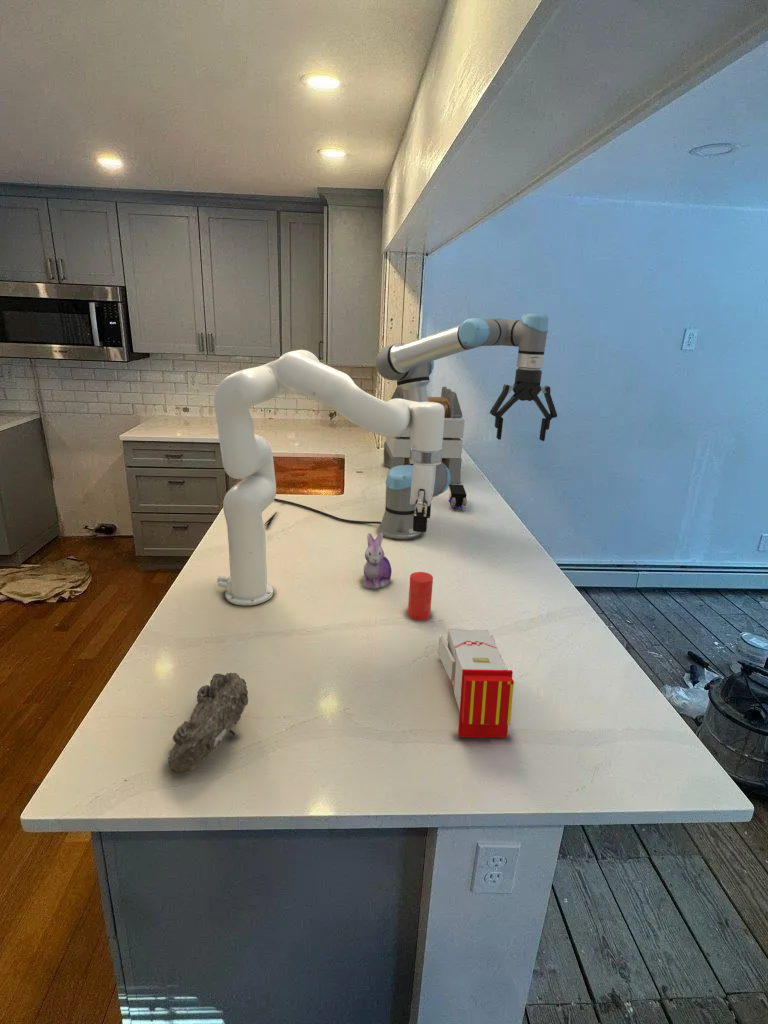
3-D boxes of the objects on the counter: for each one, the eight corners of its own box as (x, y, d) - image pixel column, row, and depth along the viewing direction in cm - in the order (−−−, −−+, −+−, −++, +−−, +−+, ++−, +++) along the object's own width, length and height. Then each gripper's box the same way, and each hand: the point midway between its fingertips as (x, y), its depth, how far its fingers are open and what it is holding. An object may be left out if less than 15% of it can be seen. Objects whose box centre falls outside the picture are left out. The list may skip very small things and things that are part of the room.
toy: (488, 613, 130) (523, 677, 101) (484, 667, 133) (517, 744, 104) (435, 612, 130) (455, 676, 101) (432, 666, 133) (451, 743, 103)
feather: (284, 506, 225) (286, 502, 224) (266, 530, 198) (268, 525, 198) (280, 504, 225) (282, 500, 224) (261, 527, 198) (264, 523, 197)
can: (403, 612, 148) (405, 574, 145) (420, 607, 152) (423, 569, 148) (416, 622, 144) (419, 584, 140) (434, 616, 147) (437, 578, 143)
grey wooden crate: (382, 463, 289) (386, 382, 275) (445, 464, 293) (451, 384, 279) (390, 482, 257) (394, 392, 243) (460, 483, 261) (468, 394, 247)
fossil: (194, 673, 113) (248, 641, 108) (227, 704, 116) (281, 674, 111) (142, 765, 94) (204, 730, 89) (183, 800, 97) (246, 768, 92)
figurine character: (467, 515, 225) (461, 499, 238) (469, 498, 221) (463, 482, 235) (450, 514, 224) (445, 498, 238) (452, 497, 221) (447, 482, 234)
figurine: (369, 592, 157) (371, 543, 152) (354, 577, 166) (355, 529, 161) (399, 586, 162) (402, 538, 157) (383, 572, 170) (385, 525, 165)
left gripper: (414, 446, 141) (410, 511, 147) (404, 464, 125) (401, 535, 131) (444, 448, 140) (439, 513, 146) (438, 466, 124) (434, 538, 130)
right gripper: (490, 368, 163) (483, 440, 170) (575, 371, 165) (564, 443, 172) (484, 365, 170) (477, 435, 178) (565, 369, 172) (555, 437, 179)
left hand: (421, 524), depth 138 cm, fingers open, 9 cm apart
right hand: (520, 439), depth 175 cm, fingers open, 13 cm apart
